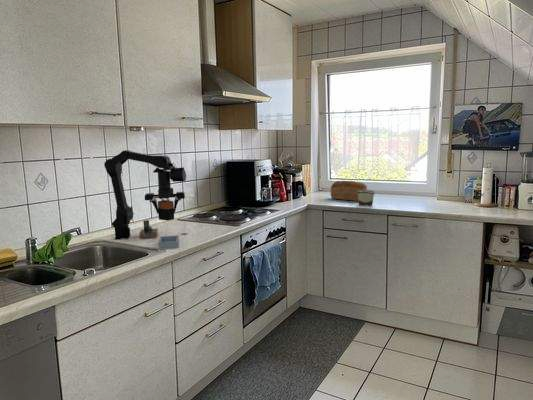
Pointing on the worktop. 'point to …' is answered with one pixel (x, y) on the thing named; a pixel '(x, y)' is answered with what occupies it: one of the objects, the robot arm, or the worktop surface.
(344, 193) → the bread
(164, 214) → the battery
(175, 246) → the tray
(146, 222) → the crank
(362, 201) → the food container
